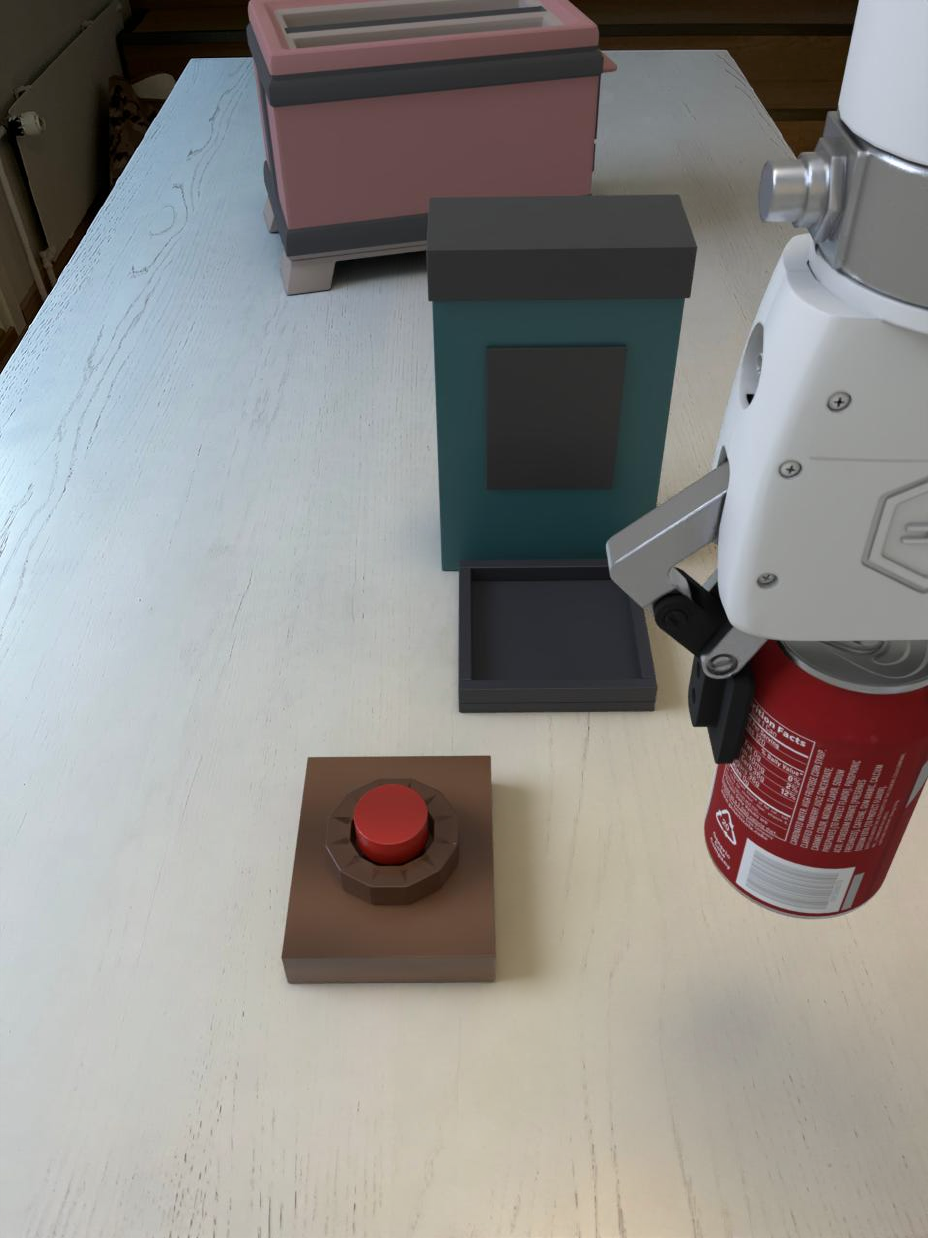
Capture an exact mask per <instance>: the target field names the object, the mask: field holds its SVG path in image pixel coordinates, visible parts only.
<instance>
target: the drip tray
mask: <svg viewBox="0 0 928 1238" xmlns="http://www.w3.org/2000/svg"><path fill="white" fill-rule="evenodd" d="M457 647H458V650H457V651H458V658H457V660H458V661H457V663H458V665H457V667H458V669H457V671H458V672H457V673H458V674H457V675H458V678H457V680H458V681H457V682H458V683H457V684H458V685H457V686H458V687H457V688H458V689H457V693H458V694H457V695H458V697H457V698H458V713H533V712H534V713H535V712H536V713H542V712H543V713H545V712H639V711H640V712H645V711H646V712H648V711H650V712H652V711H655V707H656V701H657V693H658V683H657V676H656V670H655V664H654V660H653V653H652V648H651V642H650V636H649V630H648V624H647V619H646V613H645V608H642V607H641V606H640V605H639V604H637V603H636V602H635V601H634V600H633V599H632V598H631V597H630V596H629V595H628V594H627V593H626V592H624V591H623V590H622V589H621V588H620V587H619V586H618V585H617V584H616V583H615V582H614V581H613V580H612V579H611V577H610V572H609V566H608V559H544V560H460V561H459V570H458V646H457Z"/></svg>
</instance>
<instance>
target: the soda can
mask: <svg viewBox="0 0 928 1238" xmlns="http://www.w3.org/2000/svg"><path fill="white" fill-rule="evenodd" d="M750 664H751V667H752V671H753V675H754V679H755V691H754V696H753V700H752V704H751V708H750V713H749V717H748V721H747V725H746V730H745V734H744V738H743V743H742V747H741V751H740V755H739V759H738V760H734V761H733V763H732V764H716V763H715V769H714V772H713V778H712V783H711V788H710V792H709V797H708V800H707V801H708V802H707V807H706V812H705V816H704V823H703V837H704V843H705V847H706V850H707V853H708V856H709V858H710V860H711V862H712V864H713V866H714V867H715V869H716V870H717V872H718V873H719V874H720V877H722V878H723V880H724V881H725V882H726V883H727V884H728V885H729V886H730V887H731V888H733V890H735V892H737V893H738V894H739V895H741V896H742V897H743V898H745V899H747V900H748V901H750V902H751V903H753V904H754V905H757V906H758V907H760V908H763V909H765V910H767V911H770V912H773V913H775V914H778V915H781V916H784V917H785V916H786V917H789V918H793V919H794V918H795V919H802V920H828V919H833V918H834V919H835V918H838V917H841V916H845V915H848V914H851V913H852V912H855V911H857V910H858V909H860V908H861V907H863V906H865V905H866V904H867V903H868V902H870V901H871V900H872V899H873V898H874V897H875V896H876V895H877V893H878V892H879V891H880V889H881V888H882V886H883V884H884V882H885V881H886V878H887V875H888V873H889V871H890V869H891V867H892V863H893V861H894V859H895V857H896V854H897V852H898V849H899V847H900V845H901V842H902V840H903V838H904V835H905V833H906V830H907V828H908V825H909V824H910V821H911V819H912V816H913V814H914V812H915V810H916V807H917V804H918V803H919V800H920V798H921V795H922V793H923V790H924V788H925V786H926V783H927V781H928V640H875V641H783V640H772V639H768V640H767V641H766V643H765V644H764V645H763V646H762V647H761V648H760V649H759V650H758V651H757V652H756V653H755V655H754V656H753V657H752V658H751V659H750Z"/></svg>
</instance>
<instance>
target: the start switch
mask: <svg viewBox="0 0 928 1238" xmlns="http://www.w3.org/2000/svg"><path fill="white" fill-rule="evenodd" d="M387 784H398V785H403V786H407V787H409V788H411V789H413V790H415V791H416V792H417V793H418V794H420V795H421V797H422V798H423V799H424V801H425V803H426V806H427V811H428V828H429V836H428V841H427V843H426V846H425V847H424V849H423V850H422V851H421V852H420V853H419V854H418V855H417V856H416V857H415V858H413V859H411V860H410V861H407V862H405V863H401V864H396V865H385V864H380V863H377V862H375V861H372V860H371V859H369V858H368V857H366V856H365V855H364V854H363V853H362V851H361V850H360V848H359V846H358V843H357V838H356V831H355V824H354V810H355V807H356V805H357V803H358V801H359V800H360V799H361V797H362V796H363V795H364V794H366V793H367V792H368V791H370V790H372V789H374V788H376V787H378V786H382V785H387ZM492 786H493V785H492V756H491V755H397V756H396V755H395V756H394V755H389V756H387V755H383V756H379V755H378V756H376V755H375V756H307V758H306V767H305V775H304V782H303V790H302V798H301V805H300V812H299V820H298V827H297V836H296V842H295V851H294V857H293V858H294V859H293V866H292V873H291V881H290V888H289V897H288V902H287V903H288V904H287V912H286V918H285V927H284V933H283V943H282V948H281V949H282V950H281V956H280V958H281V962H282V966H283V970H284V974H285V977H286V982H287V984H324V983H325V984H331V983H332V984H334V983H337V984H338V983H339V984H340V983H341V984H345V983H349V984H350V983H481V982H483V983H484V982H489V983H490V982H491V983H493V982H496V921H495V920H496V919H495V917H496V916H495V913H496V911H495V876H494V869H495V868H494V832H493V831H494V829H493V826H494V825H493V791H492V790H493V789H492Z"/></svg>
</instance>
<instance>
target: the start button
mask: <svg viewBox="0 0 928 1238" xmlns="http://www.w3.org/2000/svg"><path fill="white" fill-rule="evenodd" d="M354 824H355V831H356V838H357V843H358V846H359V848H360V850H361V851H362V853H363V854H364V855H365V856H366V857H368V858H369V859H371V860H372V861H375V862H377V863H380V864H385V865H396V864H401V863H405V862H407V861H410V860H411V859H413V858H415V857H416V856H417V855H418V854H419V853H420V852H421V851H422V850H423V849H424V847H425V846H426V843H427V841H428V836H429V828H428V811H427V806H426V803H425V801H424V799H423V798H422V797H421V795H420V794H418V793H417V792H416V791H415V790H413V789H411V788H409V787H407V786H403V785H398V784H387V785H382V786H378V787H376V788H374V789H372V790H370V791H368V792H367V793H366V794H364V795H363V796H362V797H361V799H360V800H359V801H358V803H357V805H356V807H355V810H354Z"/></svg>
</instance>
